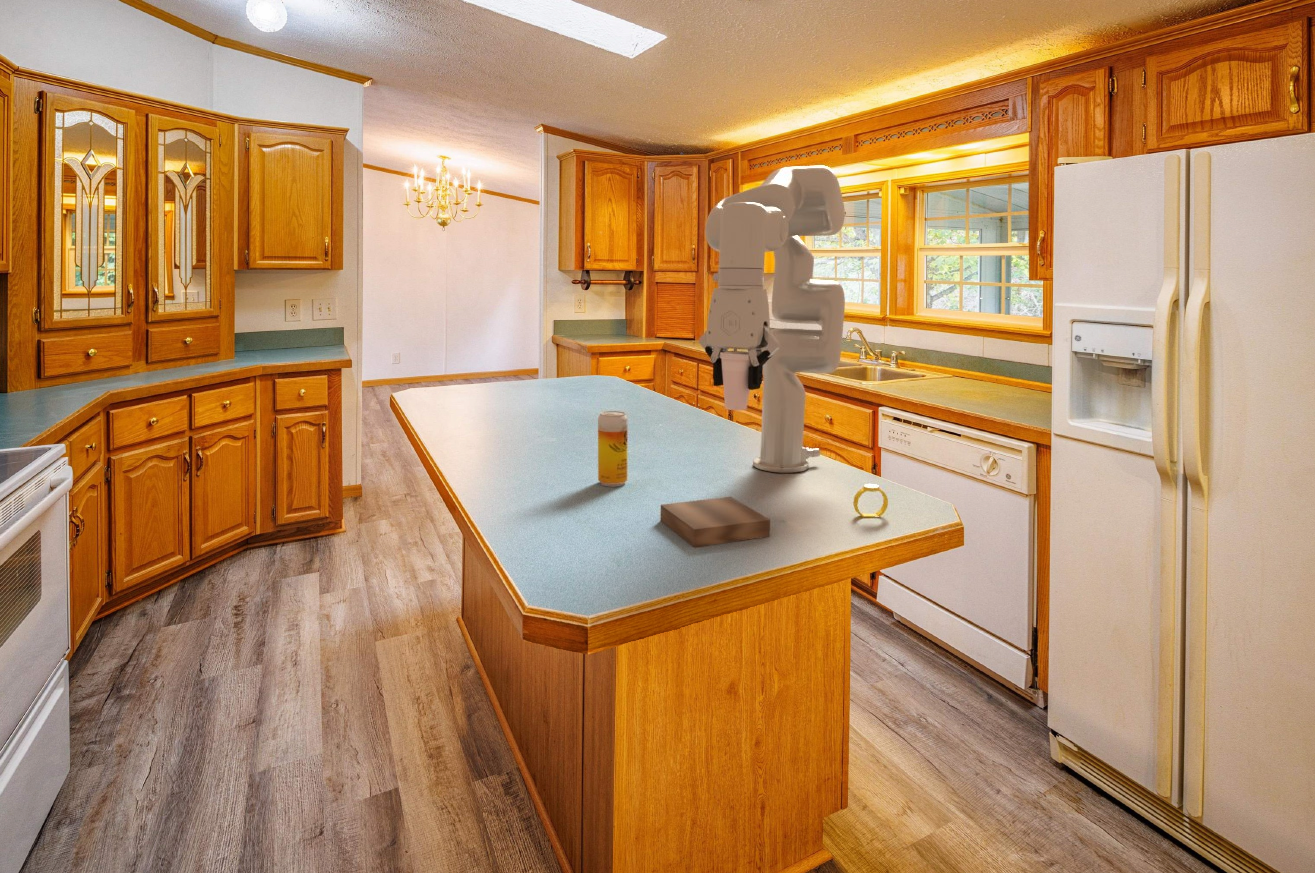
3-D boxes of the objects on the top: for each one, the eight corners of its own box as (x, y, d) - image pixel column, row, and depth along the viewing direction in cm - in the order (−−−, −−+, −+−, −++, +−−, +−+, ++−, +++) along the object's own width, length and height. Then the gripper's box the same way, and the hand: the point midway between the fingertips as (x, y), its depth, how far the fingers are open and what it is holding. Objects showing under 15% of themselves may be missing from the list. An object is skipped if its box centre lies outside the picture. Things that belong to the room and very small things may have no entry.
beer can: (623, 488, 150) (623, 416, 146) (594, 486, 151) (594, 415, 148) (630, 480, 155) (630, 411, 152) (602, 478, 157) (602, 410, 153)
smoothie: (714, 405, 129) (717, 325, 126) (750, 405, 129) (754, 326, 127) (720, 411, 123) (724, 327, 120) (758, 411, 123) (762, 328, 120)
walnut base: (730, 512, 135) (730, 496, 134) (769, 536, 122) (770, 519, 122) (660, 520, 130) (660, 504, 129) (694, 547, 117) (694, 529, 116)
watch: (856, 520, 132) (856, 489, 131) (851, 515, 135) (851, 484, 134) (889, 518, 132) (889, 486, 131) (883, 513, 135) (883, 482, 134)
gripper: (685, 279, 124) (683, 384, 127) (776, 280, 114) (770, 394, 117) (709, 280, 130) (706, 380, 133) (798, 281, 120) (792, 389, 123)
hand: (736, 386), depth 125 cm, fingers closed on smoothie, 6 cm apart
